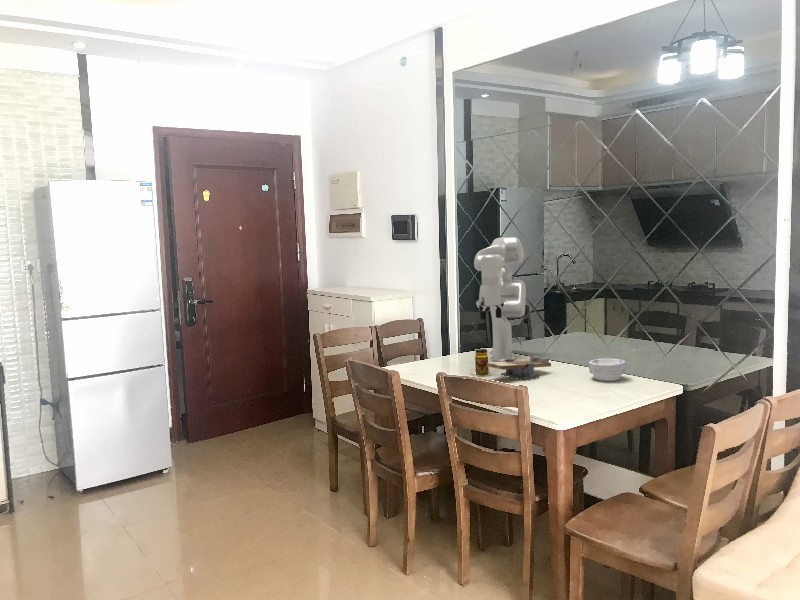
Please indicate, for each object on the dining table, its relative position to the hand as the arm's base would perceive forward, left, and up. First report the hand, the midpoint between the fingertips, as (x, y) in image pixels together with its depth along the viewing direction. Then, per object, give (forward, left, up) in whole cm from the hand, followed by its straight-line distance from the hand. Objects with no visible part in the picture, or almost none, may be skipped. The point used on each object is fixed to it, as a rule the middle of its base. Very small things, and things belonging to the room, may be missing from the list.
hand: (491, 318), depth 302 cm
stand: (+14, +4, -26) cm, 30 cm away
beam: (+14, +4, -20) cm, 25 cm away
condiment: (-2, -5, -26) cm, 27 cm away
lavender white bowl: (+44, +27, -26) cm, 58 cm away
